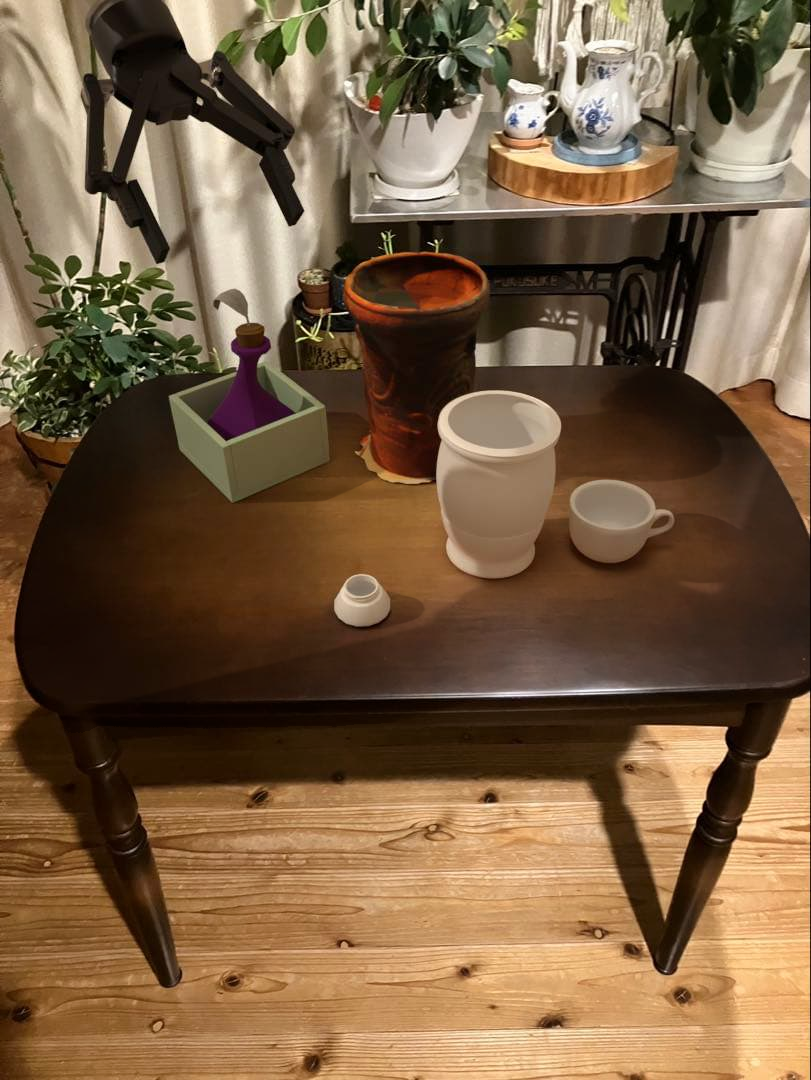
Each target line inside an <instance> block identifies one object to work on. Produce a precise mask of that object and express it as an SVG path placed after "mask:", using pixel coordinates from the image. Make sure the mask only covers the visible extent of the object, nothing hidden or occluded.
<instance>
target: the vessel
mask: <svg viewBox="0 0 811 1080" xmlns="http://www.w3.org/2000/svg"><path fill="white" fill-rule="evenodd" d="M490 293H491V284H490V280H489V279H488V276H487V274H486V272H485V271H484V270H482V268H481V267H480V266H479V265H477V264H476V263H474V262H473V261H471V260H469V259H467V258H465V257H464V256H461V255H455V254H451V253H446V252H445V253H443V252H430V251H420V252H419V251H418V252H417V251H416V252H410V251H403V252H396V253H389V254H383V255H379V256H375V257H373V258H371V259H369V260H366V261H363V262H361V263H358V265H357V266H356V267H354V269H353V270H352V271H351V272H350V273H349V274H348V275H347V277H346V278H345V282H344V287H343V293H342V298H343V303H344V306H345V309H346V311H347V313H348V315H349V316H350V318H351V319H352V320H353V321H354V322H355V323H356V325H355V327H354V331H355V334H356V339H357V341H358V342H359V345H360V348H361V359H362V368H363V369H362V376H363V393H364V398H365V405H366V408H367V409H366V410H367V414H368V420H369V422H368V423H369V433H370V434H368V435H365V436H364V437H363V438H362V440H361V441H360V442H359V445H361V446H362V447H361V450H359V451H357V450H355V451H354V454H356V455H357V456H358V457H359V458H361V459H363V460H364V463H365V466H366V468H367V470H368V471H371V472H374V473H376V474H377V476H378V477H379V478H380V479H381V480H384V481H388V482H389V483H401V484H406V485H412V484H415V485H416V484H417V485H418V484H421V483H431V482H432V481H434V480H436V471H437V460H438V453H439V448H440V444H441V441H442V439H441V437H440V435H439V432H438V419H439V415H440V413H441V411H442V409H443V408H444V407H445V406H446V405H447V404H448V403H450V402H451V401H453V400H455V399H456V398H459V397H461V396H464V395H467V394H470V393H474V392H475V391H474V390H475V389H474V388H475V378H476V371H477V368H476V367H477V362H476V361H477V359H476V348H477V346H476V345H477V332H478V331H477V330H478V326H479V322H480V320H481V318H482V316H483V314H484V312H485V311H486V309H487V307H488V304H489V301H490Z"/></svg>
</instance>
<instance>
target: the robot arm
mask: <svg viewBox="0 0 811 1080" xmlns="http://www.w3.org/2000/svg"><path fill="white" fill-rule="evenodd" d="M71 1H72V3H73V5H74V8H75V10H76V12H77V14H78V16H79V18H80V21H81V22H82V25H83V26H84V28H85V30H86V32H87V33H88V35H89V36H90V40H91V43H92V45H93V47H94V49H95V51H96V53H97V56H98V58H99V60H100V62H101V64H102V67H103V68H104V70H105V73H106V74H107V75H108V76H109V78H102V79H101V78H100V79H98V77H97V76H96V75H95V74H93V73H89V72H87V73H84V75H83V76H82V82H81V87H80V94H79V97H80V99H81V100H80V101H81V103H82V105H83V108H84V111H85V114H86V133H85V163H84V166H85V167H84V190H85V191H86V193H88V194H89V195H93V196H94V195H97V194H98V193H102V194H106V198H108V199H109V201H112V202H114V203H115V205H116V207H117V209H118V211H119V212H120V215H121V217H122V218H123V221H124V223H125V225H126V226H127V227H128V228H130V229H134V228H138V229H139V231H140V233H141V235H142V237H143V239H144V241H145V244H146V246H147V248H148V249H149V252H150V254H151V256H152V258H153V261H154V262H155V264H156V265H159V264H164V263H165V262H166V259H167V257H168V255H169V252H170V250H171V247H170V245H169V243H168V241H167V239H166V236H165V234H164V232H163V230H162V228H161V226H160V224H159V222H158V220H157V217H156V215H155V214H154V212H153V210H152V207H151V205H150V203H149V202H148V199H147V197H146V195H145V193H144V191H143V188H142V187H141V185H140V182H139V181H138V179H137V178H135V179H130V180H128V181H127V178H128V174H129V172H130V168H131V166H132V163H133V159H134V156H135V153H136V150H137V147H138V143H139V141H140V137H141V134H142V131H143V129H144V125H145V122H146V121H147V122H149V123H153V124H155V126H162V125H166V124H167V123H168V122H171V121H177V122H182V121H185V120H188V118H189V117H190V116H191V117H192V118H194V119H196V120H197V121H198V122H200V123H208V124H209V125H211V126H212V127H214V128H216V129H217V130H219V131H221V132H222V133H224V134H225V135H227V136H228V137H230V138H232V139H234V140H235V141H237V142H238V143H240V144H242V146H245V147H246V148H248V149H249V150H251V151H252V152H254V153H255V154H257V155H259V156H260V157H261V159H260V161H259V163H258V166H259V168H260V170H261V173H262V174H263V176H264V178H265V181H266V182H267V184H268V187H269V189H270V191H271V193H272V195H273V197H274V200H275V201H276V204H277V205H278V207H279V209H280V211H281V214H282V216H283V218H284V220H285V222H286V224H287V226H288V228H290V227H293V226H296V225H297V223H298V222H299V221H300V219H301V217H302V216H303V214H304V213H305V209H304V206H303V204H302V202H301V200H300V198H299V196H298V194H297V192H296V190H295V188H294V185H293V184H294V182H295V180H296V174H295V171H294V169H293V166H292V165H291V163H290V160H289V159H288V157H287V154H286V152H285V150H286V149H287V148H288V146H289V144H290V143H291V141H292V139H293V137H294V135H295V134H296V129H295V127H294V126H293V125H292V124H291V123H290V122H289V121H288V120H287V119H286V118H285V117H284V116H283V115H282V114H281V113H279V111H278V110H276V109H275V108H274V107H273V106H272V105H271V104H270V103H269V102H268V101H267V100H266V99H265V98H264V97H263V96H262V95H261V94H259V92H257V91H256V90H255V88H253V86H251V85H250V84H249V83H248V82H247V81H246V80H245V79H244V78H243V77H242V76H240V74H238V73H237V72H236V71H235V69H234V67H233V65H232V64H231V62H230V60H229V59H228V56H226V54H225V53H224V52H223V51H220V50H216V51H214V53H213V54H212V57H211V59H207V60H204V61H202V62H197V61H196V60H195V59H194V58H193V57H192V56H191V55H190V54H189V52H188V49H187V46H186V42H185V40H184V37H183V35H182V33H181V30H180V29H179V27H178V25H177V23H176V21H175V18H174V15H173V14H172V12H171V10H170V8H169V6H168V5H167V4H166V3H165V0H71ZM202 80H205V81H207V82H208V83H209V85H207V84H206V83H204V82H202ZM214 88H216V90H217V91H218V93H219V94H220V95H221V96H222V97H223V98H224V99H225V100H224V99H223V98H221V97H219V96H218V94H217V91H215V90H214ZM111 97H114V99H115V100H117V101H118V103H121V104H122V105H124V106H125V107H127V109H129V110H131V111H130V115H129V118H128V121H127V124H126V127H125V131H124V133H123V136H122V139H121V142H120V146H119V148H118V152H117V155H116V158H115V162H114V163H113V167H112V170H111V171H108V170H107V171H106V170H104V146H105V145H104V144H105V143H104V140H105V137H104V136H105V109H106V108H107V107H108V106H109V103H110V100H111V99H110V98H111ZM198 99H201V101H202V104H200V103H198Z"/></svg>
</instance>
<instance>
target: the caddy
mask: <svg viewBox="0 0 811 1080" xmlns="http://www.w3.org/2000/svg"><path fill="white" fill-rule="evenodd" d="M236 373H237V371H234V372H232V373H231V372H230V373H229V374H226V375H223V376H220V377H217V378H215V379H212V380H209V381H206V382H203V383H200V384H198V385H195V386H193V387H189V388H187V389H183V390H182V391H179V392H176V393H173V394H170V395H168V400H169V405H170V409H171V410H170V411H171V416H172V419H173V424H174V429H175V433H176V438H177V444H178V449H179V451H180V452H181V453H182V454H183V455H184V456H185V457H186V458H187V459H188V460H189V461H190V462H191V463H192V464H193V465H194V466H195V467H196V468H197V469H198V470H199V471H200V472H201V473H202V474H203V475H204V476H205V478H207V479H208V480H209V481H210V482H211V483H212V484H213V485H214V486H215V487H216V488H217V489H218V490H219V491H220V492H221V493H222V494H223V495H224V497H226V498H227V499H228V501H230V502H231V503H232V504H234V503H236V502H238V501H241V500H243V499H246V498H247V497H250V496H252V495H254V494H257V493H259V492H262V491H263V490H266V489H269V488H271V487H273V486H275V485H277V484H280V483H282V482H285V481H287V480H289V479H291V478H294V477H296V476H300V475H301V474H303V473H306V472H308V471H310V470H312V469H315V468H317V467H319V466H322V465H324V464H326V463H329V462H331V455H330V444H329V431H328V419H327V406H326V405H325V404H323V403H322V402H320V401H319V400H318V399H317V398H316V397H315V396H313V395H312V394H311V393H309V392H308V391H306V390H305V389H304V388H303V387H301V386H300V385H299V384H298V383H296V382H295V381H293V380H292V379H291V378H290V377H288V376H287V375H286V374H284V373H283V372H282V371H281V370H280V369H278V368H277V367H275V366H274V365H273V364H272V363H270V362H269V361H268V360H265V361H262V362H258V364H257V378H258V382H259V383H260V385H261V387H262V388H263V389H265V390H266V391H267V392H268V393H270V394H271V395H272V396H273V397H275V398H276V399H277V400H279V401H280V402H282V403H283V404H284V405H286V406H287V407H289V408H290V409H291V410H293V411H294V412H295V413H296V414H293V415H291V416H288V417H286V418H283V419H281V420H278V421H276V422H273V423H271V424H268V425H266V426H263V427H261V428H258V429H256V430H253V431H251V432H248V433H246V434H243V435H241V436H238V437H236V438H233V439H230V440H228V441H227V442H226V441H225V440H224V439H223V438H222V437H221V436H220V435H219V434H218V433H217V432H215V431H214V430H213V429H212V428H211V427H210V426H209V425H208V424H207V422H208V420H209V419H210V418H211V416H212V415H213V414H214V413H215V411H216V410H217V409H218V407H219V406H220V405H221V403H222V401H223V400H224V398H225V397H226V395H227V394H228V392H229V390H230V388H231V386H232V384H233V382H234V380H235V376H236Z"/></svg>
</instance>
